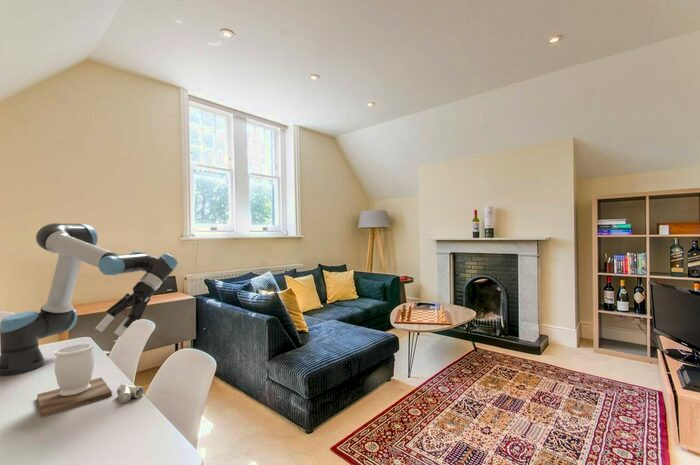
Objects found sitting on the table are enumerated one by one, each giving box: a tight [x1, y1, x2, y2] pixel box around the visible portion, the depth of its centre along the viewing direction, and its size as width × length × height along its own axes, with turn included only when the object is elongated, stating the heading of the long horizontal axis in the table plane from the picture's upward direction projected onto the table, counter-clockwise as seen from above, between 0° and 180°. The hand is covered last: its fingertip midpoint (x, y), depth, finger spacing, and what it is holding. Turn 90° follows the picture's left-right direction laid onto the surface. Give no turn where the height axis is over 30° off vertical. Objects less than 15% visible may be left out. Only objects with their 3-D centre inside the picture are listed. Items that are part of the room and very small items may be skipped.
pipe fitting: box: [116, 383, 145, 404], centre depth 114 cm, size 8×4×7 cm
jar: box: [54, 343, 95, 396], centre depth 117 cm, size 11×10×15 cm
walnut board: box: [36, 377, 113, 418], centre depth 115 cm, size 18×18×2 cm
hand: (107, 332), depth 125 cm, fingers open, 13 cm apart
